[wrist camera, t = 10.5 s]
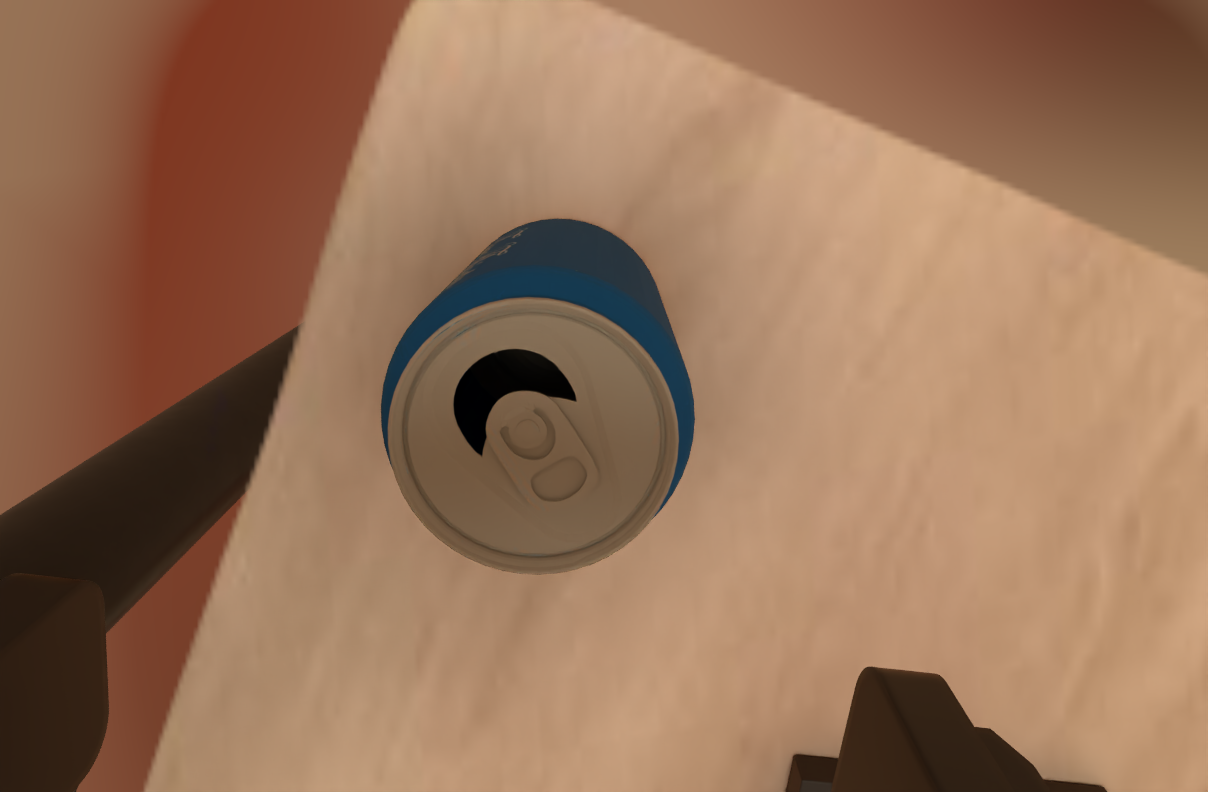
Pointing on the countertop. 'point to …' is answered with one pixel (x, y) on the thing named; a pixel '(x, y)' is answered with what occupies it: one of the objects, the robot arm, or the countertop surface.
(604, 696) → the countertop surface
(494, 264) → the beverage can
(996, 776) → the robot arm
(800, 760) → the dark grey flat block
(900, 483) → the countertop surface
